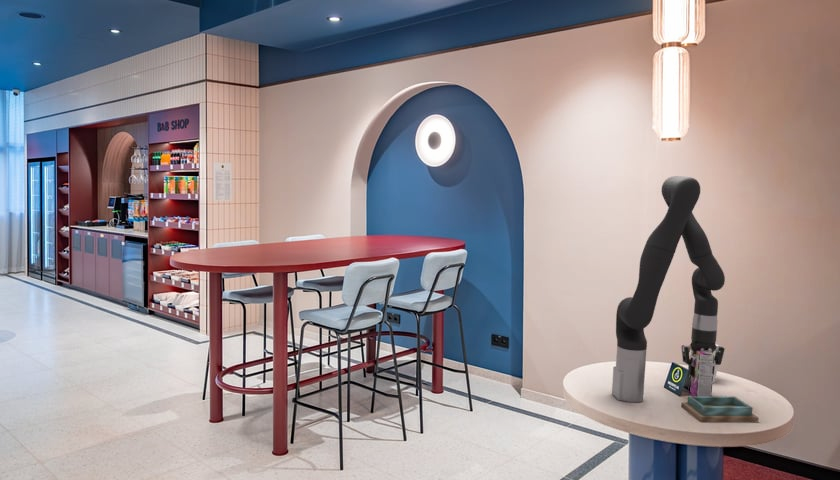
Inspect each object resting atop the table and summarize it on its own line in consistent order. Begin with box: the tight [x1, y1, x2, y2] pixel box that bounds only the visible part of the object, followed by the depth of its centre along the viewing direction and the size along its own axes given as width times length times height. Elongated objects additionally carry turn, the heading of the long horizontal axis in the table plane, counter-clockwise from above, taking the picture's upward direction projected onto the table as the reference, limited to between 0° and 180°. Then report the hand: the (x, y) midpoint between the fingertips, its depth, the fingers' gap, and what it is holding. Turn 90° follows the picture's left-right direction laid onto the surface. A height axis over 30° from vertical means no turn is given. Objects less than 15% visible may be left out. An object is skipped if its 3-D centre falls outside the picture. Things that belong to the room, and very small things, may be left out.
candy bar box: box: [689, 349, 714, 396], centre depth 202 cm, size 11×5×16 cm, turn 168°
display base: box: [680, 395, 759, 423], centre depth 187 cm, size 18×12×4 cm, turn 93°
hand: (700, 376), depth 202 cm, fingers closed on candy bar box, 5 cm apart
